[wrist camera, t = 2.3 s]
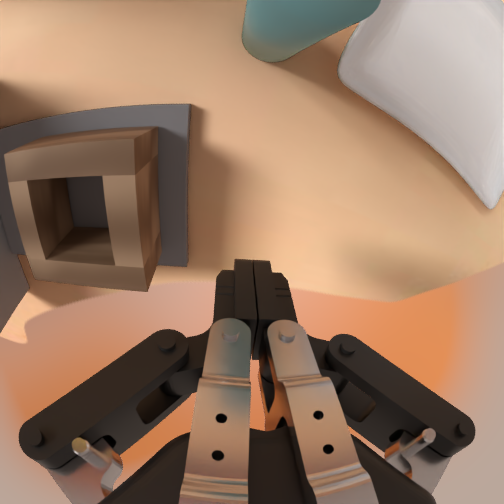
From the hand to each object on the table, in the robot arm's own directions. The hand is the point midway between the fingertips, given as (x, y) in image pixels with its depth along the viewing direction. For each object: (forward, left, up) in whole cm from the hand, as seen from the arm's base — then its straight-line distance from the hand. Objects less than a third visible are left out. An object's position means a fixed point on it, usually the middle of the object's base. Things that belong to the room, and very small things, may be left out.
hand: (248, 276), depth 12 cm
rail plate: (0, -14, -10) cm, 17 cm away
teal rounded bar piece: (-12, +1, -10) cm, 16 cm away
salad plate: (-16, +18, -11) cm, 26 cm away
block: (0, -11, -9) cm, 14 cm away
